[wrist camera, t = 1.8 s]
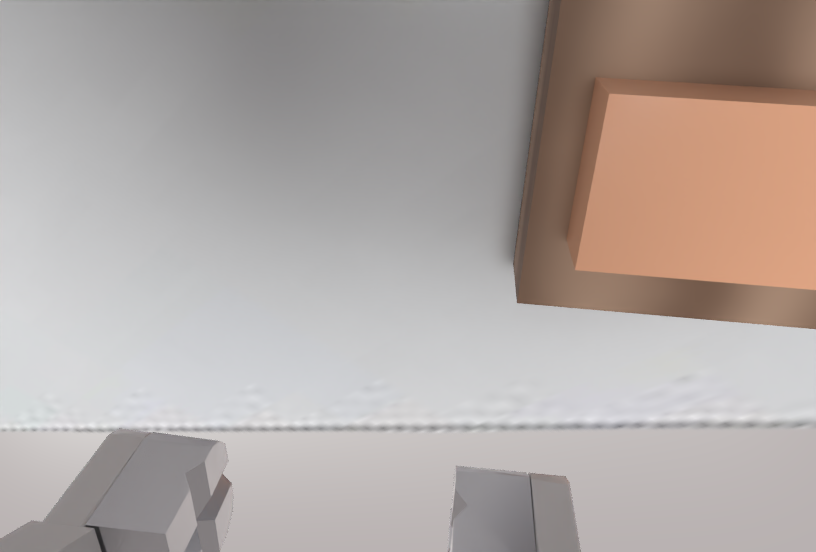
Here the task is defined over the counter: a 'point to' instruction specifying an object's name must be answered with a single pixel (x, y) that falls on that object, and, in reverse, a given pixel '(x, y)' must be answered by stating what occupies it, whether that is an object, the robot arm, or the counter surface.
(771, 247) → the terracotta tile
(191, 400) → the counter surface
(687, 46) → the brown wooden square block
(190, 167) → the counter surface
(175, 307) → the counter surface
